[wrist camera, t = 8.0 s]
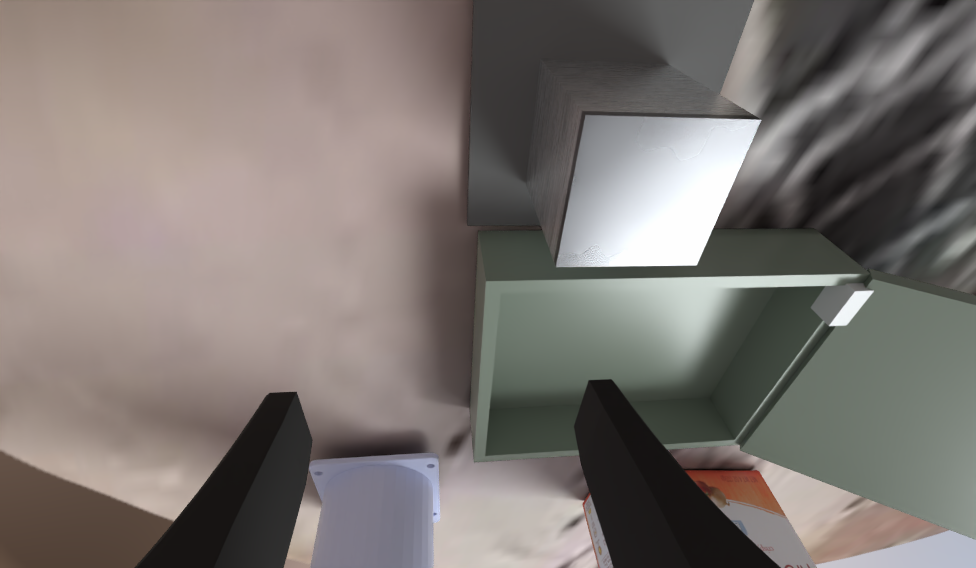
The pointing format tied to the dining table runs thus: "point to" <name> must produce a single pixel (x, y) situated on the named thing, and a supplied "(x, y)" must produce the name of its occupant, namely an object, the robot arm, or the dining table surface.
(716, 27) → the pad
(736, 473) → the cracker box
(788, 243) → the case
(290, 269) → the dining table surface
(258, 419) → the robot arm
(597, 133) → the block
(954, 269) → the dining table surface
